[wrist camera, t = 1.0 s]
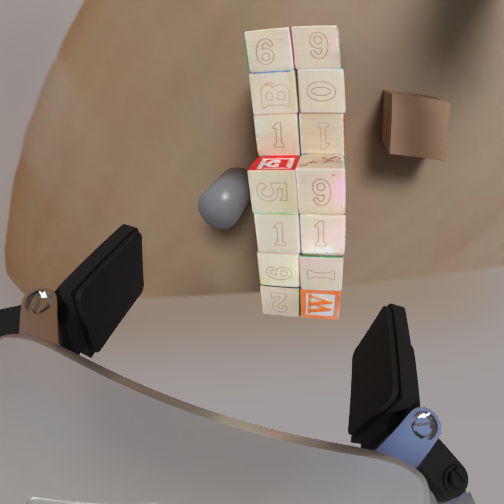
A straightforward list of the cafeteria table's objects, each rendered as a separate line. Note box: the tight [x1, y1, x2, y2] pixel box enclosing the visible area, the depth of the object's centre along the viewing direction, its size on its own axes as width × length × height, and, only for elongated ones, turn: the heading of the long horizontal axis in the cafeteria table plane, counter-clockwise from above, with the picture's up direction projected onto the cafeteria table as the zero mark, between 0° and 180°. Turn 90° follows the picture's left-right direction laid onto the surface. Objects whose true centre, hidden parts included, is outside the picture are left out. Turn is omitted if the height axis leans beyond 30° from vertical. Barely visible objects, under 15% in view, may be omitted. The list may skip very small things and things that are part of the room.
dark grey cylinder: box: [198, 168, 251, 229], centre depth 30 cm, size 4×4×6 cm
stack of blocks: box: [244, 26, 346, 319], centre depth 24 cm, size 21×6×12 cm, turn 6°
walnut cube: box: [382, 90, 451, 161], centre depth 23 cm, size 5×5×5 cm
